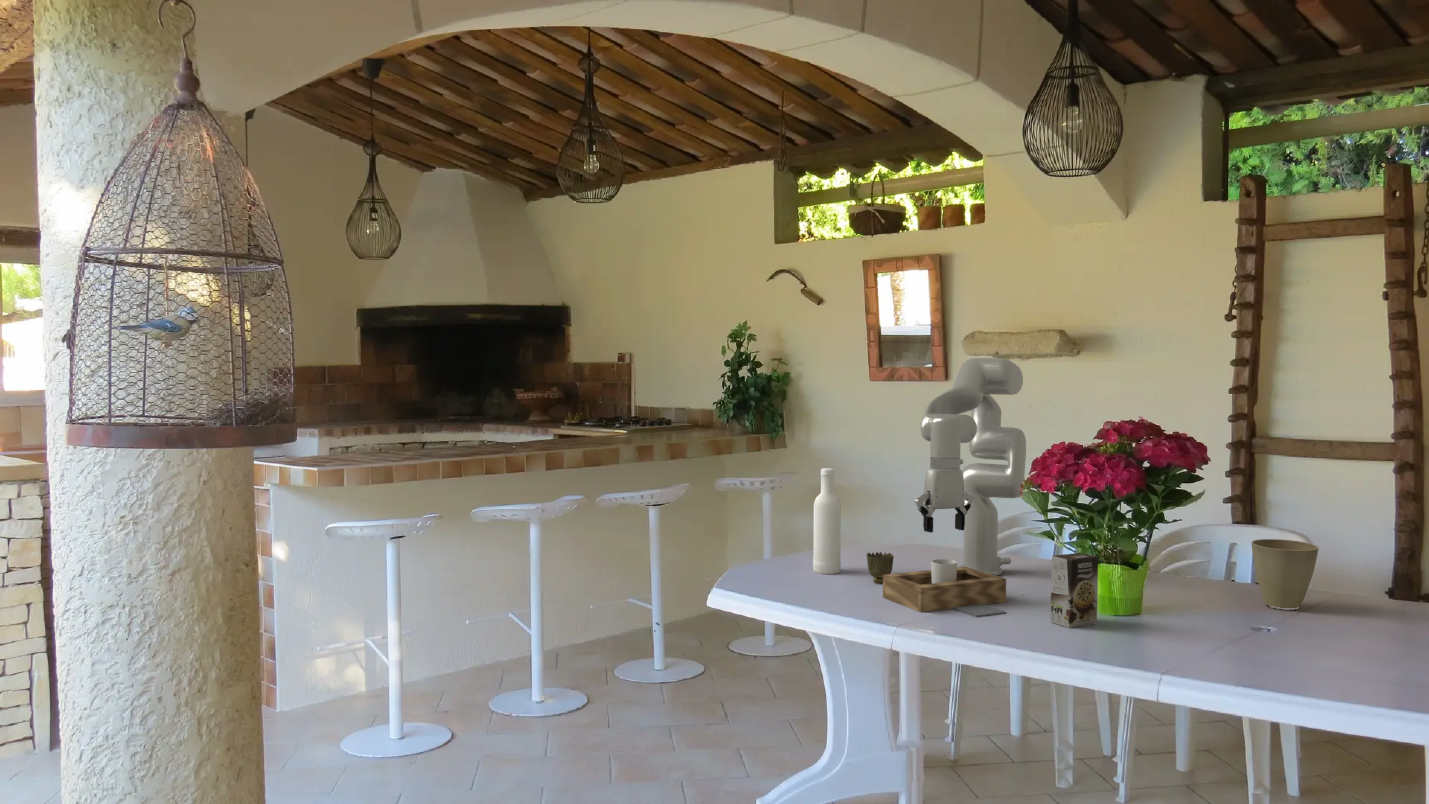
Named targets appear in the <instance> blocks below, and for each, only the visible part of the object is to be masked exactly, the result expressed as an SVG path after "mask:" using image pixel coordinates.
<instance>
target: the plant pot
mask: <svg viewBox="0 0 1429 804" xmlns="http://www.w3.org/2000/svg"><path fill="white" fill-rule="evenodd" d="M1319 550H1320V549H1319V546H1318V545H1316V544H1313V543H1310V542H1305V541H1299V540H1293V539H1291V540H1290V539H1279V538H1278V539H1277V538H1276V539H1275V538H1271V539H1270V538H1265V539H1264V538H1262V539H1254V540H1252V541H1251V551H1252V558H1253V564H1254V570H1255V574H1256V578H1257V583H1258V586H1259V590H1260V592H1261V595H1262V599H1263V600H1264V603H1266V604H1267V605H1269V606H1275V607H1280V608H1297V607H1300V608H1301V606H1302V603H1303V602H1304V599H1305V597H1306V594H1307V592H1308V589H1309V586H1310V584H1311V582H1312V578H1313V574H1314V571H1315V566H1316V563H1317V558H1318V554H1319ZM1266 604H1265V605H1266Z"/></svg>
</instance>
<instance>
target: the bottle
mask: <svg viewBox="0 0 1429 804" xmlns="http://www.w3.org/2000/svg"><path fill="white" fill-rule="evenodd" d="M834 475H835V471H834V468H830V467H827V468H825V467H823V468H821V469H820V493H819V494H818V495H817V496H816V497H815V500H814V502H813V538H812V539H813V549H812V550H813V553H812V555H813V559H812V569H813V572H814V573H816V574H819V575H820V574H821V575H834V574H835V575H837V574H839V573H840V572H841V566H842V565H841V562H842V561H841V530H842V529H841V521H842V519H841V516H842V515H841V511H842V509H841V502H840V498H839V497H838V496H837V495H836V494H835V493H834V490H835V489H834V483H835V482H834V477H835V476H834Z"/></svg>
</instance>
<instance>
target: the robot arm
mask: <svg viewBox="0 0 1429 804" xmlns="http://www.w3.org/2000/svg"><path fill="white" fill-rule="evenodd" d="M1023 385H1024V376H1023V372H1022V370H1021V368H1020V367H1019V366H1018V365H1017V364H1016V363H1014V362H1013V361H1011V360H1010V359H1006V358H1001V357H998V358H997V357H995V358H994V357H975V358H974V357H973V358H969V359H966V360H965V361H964V362H963V363H962V364H961V366H960V369H959V371H958V373H957V376H956V378H955V380H954V384H953V385H952V388H951V389H948V390H946V391H944V392H943V393H941V394H940V395H938V396H936V397H935V398H933V399H932V400H931V401H930V402H929V403H928V405H927V407H926V408H925V410H924V413H923V416H922V419H921V423H920V434H921V436H922V438H923V439H924V440H925V441H927V442H930V447H929V448H930V451H929V452H930V457H929V458H930V460H929V462H930V463H929V467H930V468H928V469H926V473H925V478H924V485H923V494H922V495H919V497H917V498H915V500H914V503H915V505H916V507H917V510H918V512H919V513H920V514H921V515H922V516H923V520H922V521H923V523H922V526H923V531H924V532H927V533H930V534H931V533H933V532H934V517H933V514H934V513H935V511H936V510H947V509H954V510H955V511H956V513H955V515H954V529H955V530H958V531H963V557H962V559H963V564H962V565H959V566H958V567H968V568H971V569H975V570H978V571H981V572H985V573H988V574H991V575H995V576H1001V575H1002V574H1003V572H1004V570H1003V569H1002V567H1001V566H1003V565H1010V564H1011V563H1012V560H1011V558H1010V557H1003V558H1001V556H999V555H998V543H999V541H998V539H999V538H998V535H999V533H998V531H999V530H998V529H999V525H998V523H999V522H998V521H999V516H998V515H999V514H998V510H997V507H996V505H995V504H994V503H993V502H992V500H991V499H990V498H997V499H998V498H999V499H1017V498H1019V497H1021V495H1020V491H1019V487H1020V485H1021V484H1022V482H1023V481H1024V482H1025V475H1026V471H1025V470H1026V457H1027V456H1026V455H1027V440H1026V436H1025V433H1024V432H1023V430H1022V429H1020V428H1018V427H1010V426H1008V427H1007V426H1002V424H1001V423H1002V409H1001V406H1000V405H999V404H998V402H997V401H996V399H995V398H994V397H993V396H992V395H998V396H999V395H1000V396H1001V395H1003V396H1005V395H1006V396H1008V395H1011V396H1013V395H1018V393H1020V391H1021V390H1022V388H1023ZM969 411H970V412H971V413H970V415H968V414H964V413H967V412H969ZM961 444H968V445H969V446H968V447H969V453H970V455H971V456H972V457H973V458H976V459H981V460H993V461H994V460H997V461H1006V462H1007V464H997V463H985V462H984V463H981V462H979V463H978V462H977V463H970V464H968V465H965V466H964V467H963V469H961V465H963V464H964V460H963V458H961Z"/></svg>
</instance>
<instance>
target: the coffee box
mask: <svg viewBox="0 0 1429 804" xmlns="http://www.w3.org/2000/svg"><path fill="white" fill-rule="evenodd" d="M1098 577H1099V556H1097V555H1092V554H1087V553H1081V552H1074V553H1066V554H1065V553H1063V554H1055V555H1052V556H1051V582H1050V584H1051V585H1050V586H1051V587H1050V591H1051V592H1050V619H1049V621H1050V623H1051V624H1052V623H1053V624H1056V625H1059V626H1062V627H1065V628H1067V629H1068V628H1069V629H1071V628H1078V626H1079V627H1082V626H1083V627H1084V626H1090V625H1089V624H1092V625H1095V624H1094V623H1097V624H1098V591H1099V590H1098V587H1099V586H1098V585H1099V584H1098V580H1099V578H1098Z"/></svg>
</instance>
